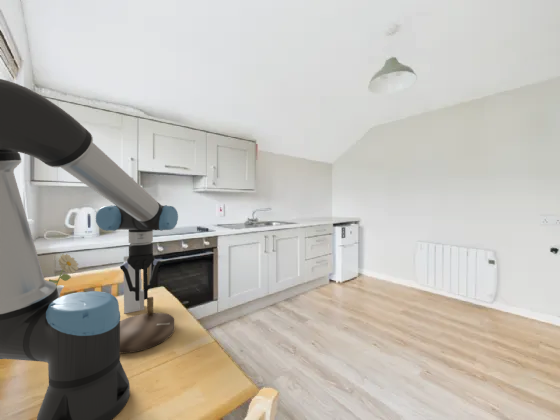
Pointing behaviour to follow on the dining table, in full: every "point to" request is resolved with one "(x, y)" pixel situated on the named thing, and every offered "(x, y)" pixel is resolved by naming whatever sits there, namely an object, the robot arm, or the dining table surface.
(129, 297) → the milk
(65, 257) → the flower in vase
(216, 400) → the dining table surface
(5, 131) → the robot arm
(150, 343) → the turntable
